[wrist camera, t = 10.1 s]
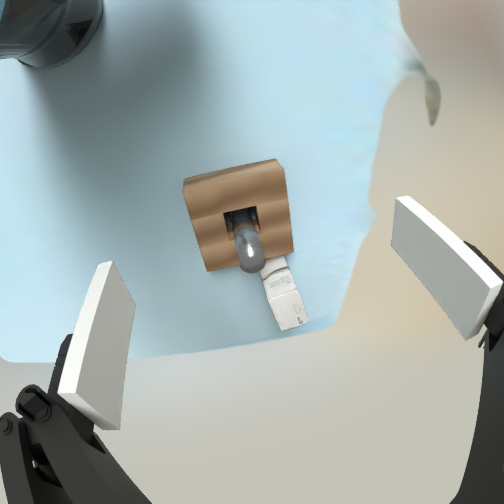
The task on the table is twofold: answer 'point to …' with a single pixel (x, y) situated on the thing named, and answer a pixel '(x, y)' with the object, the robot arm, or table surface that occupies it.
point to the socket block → (238, 197)
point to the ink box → (283, 293)
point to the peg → (247, 241)
